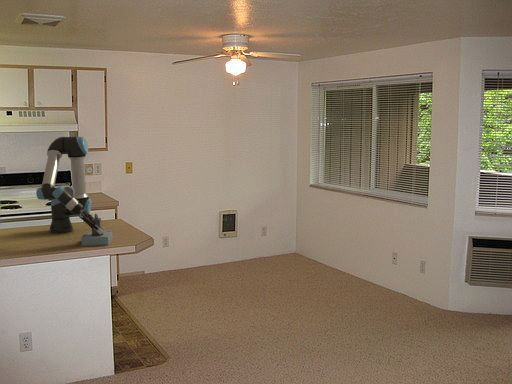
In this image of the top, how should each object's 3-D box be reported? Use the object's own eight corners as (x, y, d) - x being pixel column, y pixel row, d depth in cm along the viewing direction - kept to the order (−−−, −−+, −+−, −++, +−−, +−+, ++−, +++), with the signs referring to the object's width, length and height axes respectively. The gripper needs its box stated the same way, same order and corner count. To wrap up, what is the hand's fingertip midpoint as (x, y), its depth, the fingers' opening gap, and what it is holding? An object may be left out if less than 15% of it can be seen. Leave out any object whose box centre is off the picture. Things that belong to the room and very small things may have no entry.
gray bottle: (93, 237, 364) (92, 213, 362) (101, 236, 364) (100, 213, 362) (92, 238, 359) (91, 214, 357) (100, 238, 359) (99, 214, 357)
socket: (87, 239, 370) (86, 232, 369) (112, 239, 371) (112, 231, 370) (81, 245, 354) (81, 237, 353) (108, 245, 355) (107, 237, 354)
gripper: (74, 208, 367) (101, 233, 371) (67, 213, 349) (96, 239, 353) (82, 200, 367) (109, 225, 370) (75, 204, 349) (104, 230, 352)
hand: (103, 232), depth 362 cm, fingers closed on gray bottle, 5 cm apart
